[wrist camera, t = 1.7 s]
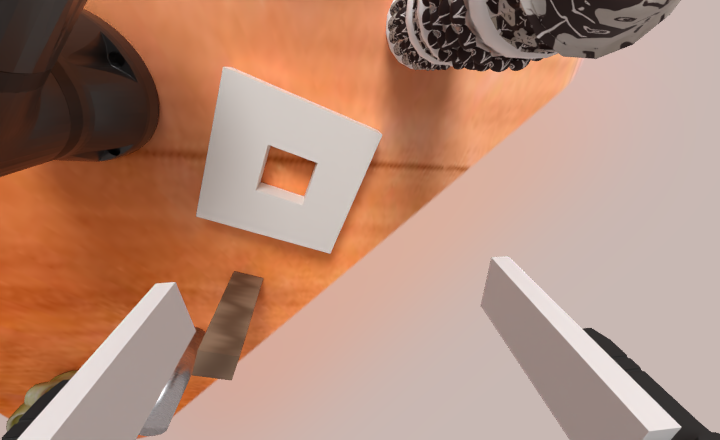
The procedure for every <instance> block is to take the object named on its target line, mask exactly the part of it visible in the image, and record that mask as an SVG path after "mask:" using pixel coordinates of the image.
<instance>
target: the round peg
mask: <svg viewBox="0 0 720 440" xmlns="http://www.w3.org/2000/svg"><path fill="white" fill-rule="evenodd" d="M195 330H196V332H195V334H194V336H193V337H192V339H191V341H190V343H189V345H188V346H187V348H186V350H185V352H184V354H183V355H182V357H181V359H180V361H179V363H178V364H177V366H176V368H175V370H174V372H173V373H172V375H171V377H170V379H169V381H168V382H167V384H166V386H165V388H164V390H163V391H162V393H161V395H160V397H159V399H158V400H157V402H156V404H155V406H154V408H153V409H152V411H151V413H150V415H149V417H148V418H147V420H146V422H145V424H144V426H143V427H142V429H141V431H140V433H139V435H143V436H155V435H159V434H162V433H164V432H165V431H166V430H167V428H168V426H169V424H170V422H171V419H172V417H173V415H174V413H175V410H176V408H177V406H178V404H179V401H180V399H181V397H182V395H183V393H184V390H185V388H186V386H187V384H188V381H189V379H190V377H191V375H192V372H193V367H194V363H195V359H196V355H197V351H198V348H199V346H200V344H201V342H202V340H203V338H204V335H205V332H204V331H203V330H202V329H199V328H197V327H195Z"/></svg>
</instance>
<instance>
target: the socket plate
mask: <svg viewBox="0 0 720 440" xmlns="http://www.w3.org/2000/svg"><path fill="white" fill-rule="evenodd" d="M381 137H382V134H381V133H380V131H379V130H377V129H374V128H372V127H370V126H367V125H365V124H363V123H360V122H358V121H356V120H353V119H351V118H349V117H346V116H344V115H342V114H339V113H337V112H335V111H333V110H330V109H328V108H326V107H323V106H321V105H319V104H316V103H314V102H312V101H309V100H307V99H305V98H302V97H300V96H298V95H295V94H293V93H291V92H288V91H286V90H284V89H281V88H279V87H277V86H274V85H272V84H270V83H267V82H265V81H263V80H260V79H258V78H256V77H253V76H251V75H249V74H247V73H244V72H242V71H240V70H237V69H235V68H233V67H223V71H222V76H221V82H220V87H219V93H218V98H217V103H216V109H215V114H214V120H213V125H212V131H211V136H210V142H209V147H208V153H207V158H206V164H205V169H204V175H203V180H202V186H201V191H200V197H199V202H198V208H197V213H196V217H200V218H203V219H207V220H211V221H214V222H218V223H221V224H225V225H229V226H232V227H236V228H239V229H243V230H247V231H250V232H254V233H257V234H261V235H265V236H268V237H272V238H275V239H279V240H283V241H286V242H290V243H293V244H297V245H301V246H304V247H308V248H311V249H315V250H319V251H322V252H326V253H329V254H330V253H331V251H332V249H333V246H334V244H335V242H336V240H337V237H338V235H339V233H340V230H341V228H342V226H343V224H344V221H345V219H346V217H347V214H348V212H349V210H350V208H351V205H352V203H353V201H354V199H355V196H356V194H357V192H358V189H359V187H360V185H361V183H362V180H363V178H364V176H365V173H366V171H367V169H368V167H369V164H370V162H371V160H372V158H373V155H374V153H375V151H376V148H377V146H378V144H379V142H380V139H381ZM270 146H273V147H275V148H278V149H281V150H284V151H286V152H289V153H292V154H294V155H297V156H300V157H303V158H305V159H308V160H311V161H313V162H316V164H315V167H314V170H313V173H312V176H311V178H310V181H309V184H308V187H307V190H306V192H305V195H304V196H302V195H299V194H295V193H292V192H289V191H286V190H283V189H280V188H277V187H274V186H271V185H268V184H265V183H262V182H261V178H262V175H263V171H264V168H265V164H266V160H267V157H268V153H269V149H270Z"/></svg>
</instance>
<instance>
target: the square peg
mask: <svg viewBox="0 0 720 440" xmlns="http://www.w3.org/2000/svg"><path fill="white" fill-rule="evenodd" d="M262 281H263V278H261V277H257V276H253V275H248V274H244V273H240V272H236V271H234V273H233V275H232V277H231V279H230V281H229V283H228V286H227V288H226V290H225V292H224V294H223V296H222V299H221V301H220V303H219V305H218V307H217V309H216V312H215V314H214V316H213V318H212V320H211V322H210V325H209V327H208V329H207V331H206V333H205V335H204V338H203V340H202V342H201V344H200V346H199V348H198V351H197V355H196V359H195V363H194V367H193V372H192V375H194V376H202V377H210V378H217V379H225V380H232V377H233V375H234V371H235V368H236V366H237V363H238V360H239V357H240V353H241V350H242V347H243V344H244V340H245V337H246V334H247V330H248V327H249V324H250V320H251V317H252V314H253V311H254V307H255V304H256V301H257V297H258V294H259V291H260V287H261V284H262Z"/></svg>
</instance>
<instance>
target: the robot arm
mask: <svg viewBox="0 0 720 440" xmlns="http://www.w3.org/2000/svg"><path fill="white" fill-rule="evenodd" d="M86 2H87V0H0V177H2V176H5V175H8V174H11V173H14V172H18V171H21V170H24V169H27V168H30V167H33V166H36V165H39V164H42V163H45V162H48V161H52V160H67V161H107V160H112V159H116V158H119V157H122V156H124V155H127V154H129V153H132V152H134V151H136V150H138V149H139V148H141V147H142V146H143V145H145V144H146V143H147V142H148V140H149V139H150V138H151V137H152V135H153V133H154V131H155V129H156V126H157V122H158V117H159V102H158V95H157V91H156V88H155V84H154V82H153V79H152V77H151V75H150V73H149V71H148V69H147V67H146V65H145V63H144V62H143V60H142V59H141V57H140V56H139V54H138V53H137V52H136V51H135V49H134V48H133V47H132V46H131V45H130V43H129V42H128V41H127V40H126V39H125V38H124V37H123V36H122V35H121V34H120V33H119V32H118V31H116V30H115V29H114V28H113V27H112V26H110V25H109V24H108V23H106V22H105V21H103V20H102V19H100V18H99V17H97V16H96V15H94V14H92V13H90V12H88V11H87V10H85V9H83V7H84V6H85V4H86ZM481 307H482V308H483V310H484V311H485V313H486V314H487V316H488V317H489V319H490V320H491V322H492V323H493V325H494V326H495V328H496V329H497V331H498V332H499V334H500V335H501V337H502V338H503V340H504V341H505V343H506V344H507V346H508V348H509V349H510V351H511V352H512V353H513V355H514V357H515V358H516V359H517V361H518V363H519V364H520V365H521V367H522V369H523V370H524V372H525V373H526V375H527V376H528V378H529V379H530V381H531V382H532V384H533V385H534V387H535V388H536V390H537V391H538V393H539V394H540V396H541V397H542V399H543V400H544V402H545V403H546V405H547V406H548V408H549V409H550V411H551V412H552V414H553V415H554V417H555V418H556V420H557V421H558V423H559V424H560V426H561V427H562V429H563V430H564V432H565V433H566V435H567V437H568V438H569V439H570V440H720V434H719V433H716V432H715V433H714V432H711V431H709V430H708V429H707V428H705V427H704V426H703V425H702V424H701V423H700V422H698V421H697V420H696V419H695V418H694V417H693V416H692V415H691V414H690V413H689V412H688V411H687V410H686V409H684V408H683V407H682V406H681V405H680V404H679V403H678V402H677V401H676V400H675V399H673V397H672V396H670V395H669V394H668V393H667V392H666V391H665V390H664V389H663V388H662V387H661V386H660V385H659V384H657V383H656V382H655V381H654V380H653V379H652V378H651V377H650V376H649V375H648V374H647V373H646V372H644V371H641V368H640V367H639V366H638V365H637V364H636V363H635V362H634V361H633V360H632V359H630V358H628V357H627V355H626V354H625V353H624V352H623V351H622V350H621V349H620V348H619V347H617V346H616V345H615V344H614V343H613V342H612V341H611V340H610V339H608V338H606V337H605V336H603V335H602V334H600V333H598V332H597V331H595V330H594V329H592V328H585V329H582V328H581V327H580V326H579V325H577V324H576V323H575V322H574V320H573V319H571V317H570V316H569V315H568V314H566V313H565V312H564V311H563V310H562V309H561V308H560V307H559V306H558V305H557V304H556V303H555V302H554V301H553V300H552V299H551V298H550V297H549V296H548V295H547V294H546V293H545V292H544V291H543V290H542V289H541V288H540V287H539V286H538V285H537V284H536V283H535V282H534V281H533V280H532V279H531V278H530V277H529V276H528V275H527V274H526V273H525V272H524V271H523V270H522V269H521V268H520V267H519V266H518V265H517V264H516V263H515V262H514V261H513V260H512V259H511V258H510V257H509V256H504V257H492V258H491V261H490V266H489V271H488V275H487V280H486V284H485V289H484V293H483V298H482V302H481ZM195 332H196V330H195V327H194V325H193V322H192V320H191V318H190V315H189V313H188V311H187V308H186V306H185V303H184V301H183V299H182V296H181V294H180V291H179V289H178V287H177V284H176V282H169V283H156V284H155V285H154V286H153V287H152V288H151V289H150V290H149V292H148V293H147V294H146V295H145V296H144V297H143V298H142V299H141V301H140V302H139V303H138V304H137V305H136V306H135V307H134V308H133V310H132V311H131V312H130V313H129V314H128V315H127V316H126V317H125V319H124V320H123V321H122V322H121V323H120V324H119V325H118V326H117V328H116V329H115V330H114V331H113V332H112V333H111V334H110V335H109V337H108V338H107V339H106V340H105V341H104V342H103V343H102V344H101V346H100V347H99V348H98V349H97V350H96V351H95V352H94V353H93V355H92V356H91V357H90V358H89V359H88V360H87V361H86V362H85V364H84V365H83V366H82V367H81V368H80V369H79V370H78V371H77V373H76V374H75V375H74V376H73V377H72V378H71V379H67V380H62V381H61V382H59V383H58V384H57V385H55V386H54V387H53V388H51V389H50V390H49V391H48V392H46V393H45V394H44V395H42V396H41V397H40V398H39V399H38V400H37V401H36V402H35V403H34V404H33V405H32V406H31V407H30V408H29V409H28V410H27V411H26V412H25V413H24V415H23V416H22V417H21V418H20V419H19V422H18V423H17V424H14V425H13V426H12V427H11V428H10V429H9V431H8V432H7V433H6V434H5V435H4V436H3V437H2V440H136V438H137V436H138V435H139V433H140V431H141V429H142V427H143V426H144V424H145V422H146V420H147V418H148V417H149V415H150V413H151V411H152V409H153V408H154V406H155V404H156V402H157V400H158V399H159V397H160V395H161V393H162V391H163V390H164V388H165V386H166V384H167V382H168V381H169V379H170V377H171V375H172V373H173V372H174V370H175V368H176V366H177V364H178V363H179V361H180V359H181V357H182V355H183V354H184V352H185V350H186V348H187V346H188V345H189V343H190V341H191V339H192V337H193V336H194V334H195Z"/></svg>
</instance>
